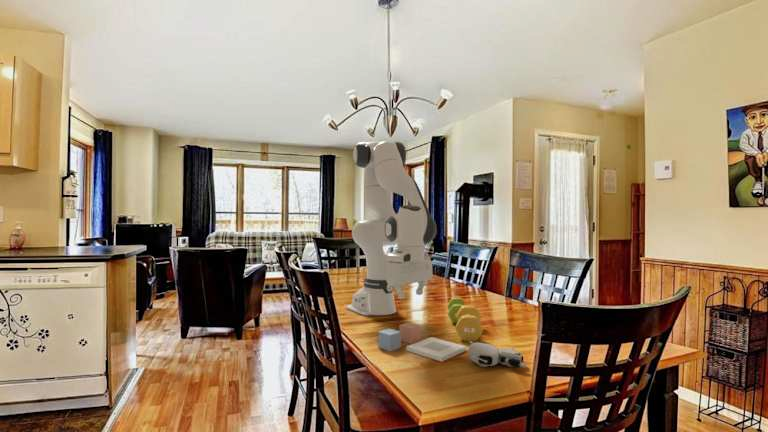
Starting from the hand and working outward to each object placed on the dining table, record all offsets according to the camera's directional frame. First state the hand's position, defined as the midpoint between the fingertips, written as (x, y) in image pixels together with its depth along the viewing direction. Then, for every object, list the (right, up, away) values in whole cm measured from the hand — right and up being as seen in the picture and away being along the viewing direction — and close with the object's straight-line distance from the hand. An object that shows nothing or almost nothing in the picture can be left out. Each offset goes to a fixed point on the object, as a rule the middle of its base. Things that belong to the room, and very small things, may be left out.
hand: (410, 296), depth 129 cm
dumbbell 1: (+21, -15, +27) cm, 37 cm away
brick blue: (-7, -15, -7) cm, 18 cm away
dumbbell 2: (+21, -15, +8) cm, 27 cm away
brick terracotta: (0, -15, 0) cm, 15 cm away
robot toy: (+22, -15, -19) cm, 33 cm away
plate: (+7, -15, -9) cm, 19 cm away
